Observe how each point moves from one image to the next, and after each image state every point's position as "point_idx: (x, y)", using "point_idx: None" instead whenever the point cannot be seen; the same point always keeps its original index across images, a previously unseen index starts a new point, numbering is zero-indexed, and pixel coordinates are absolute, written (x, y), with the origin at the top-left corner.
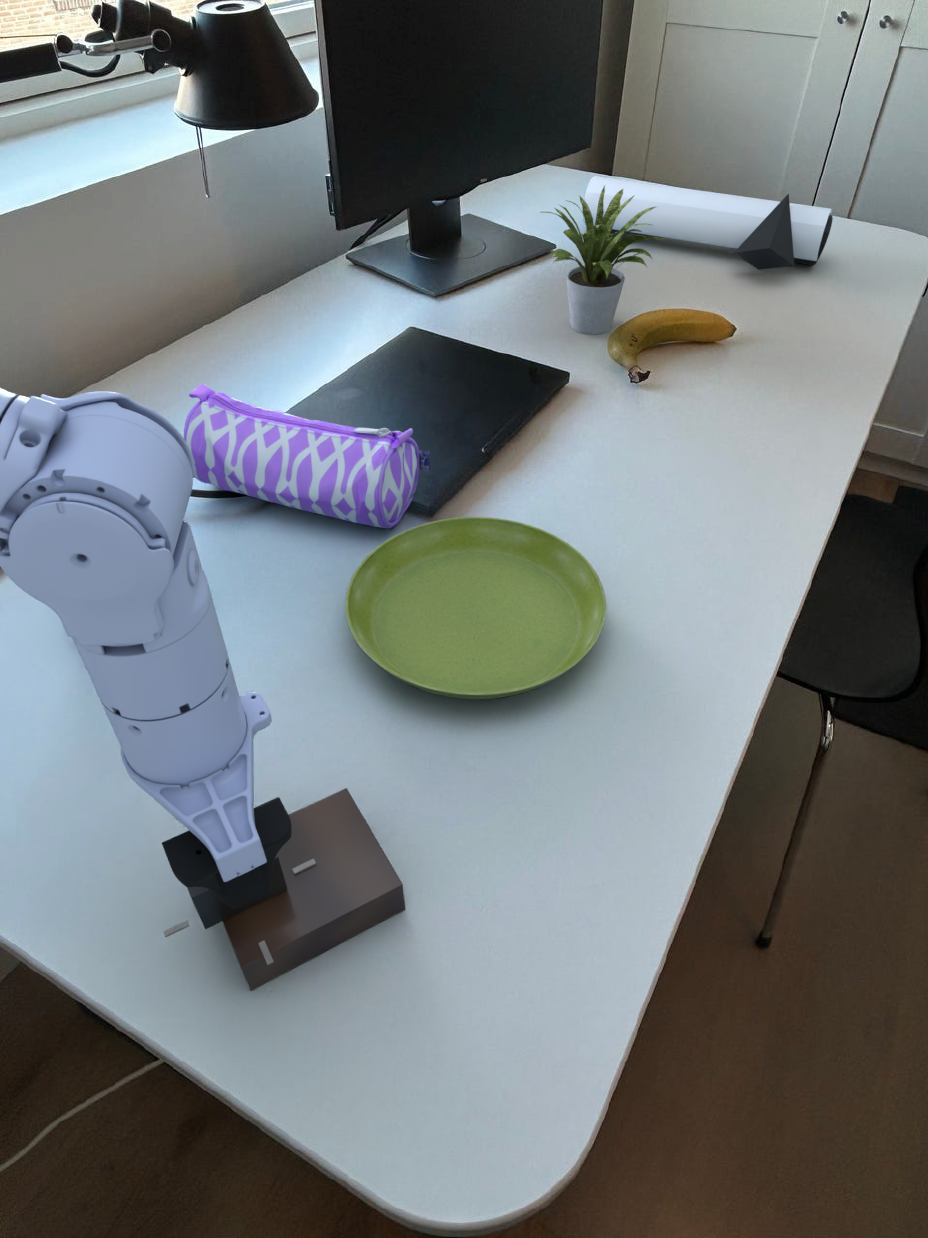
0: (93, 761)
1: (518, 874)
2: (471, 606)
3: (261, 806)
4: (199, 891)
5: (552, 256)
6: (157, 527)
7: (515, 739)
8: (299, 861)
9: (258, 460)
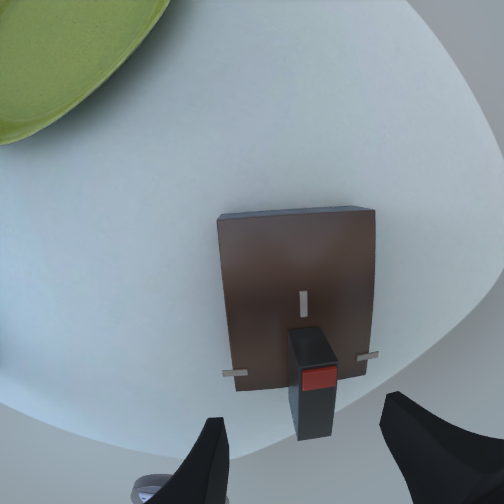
0: (85, 400)
1: (365, 91)
2: (43, 22)
3: (482, 491)
4: (328, 430)
5: None
6: None
7: (212, 18)
8: (294, 306)
9: None
